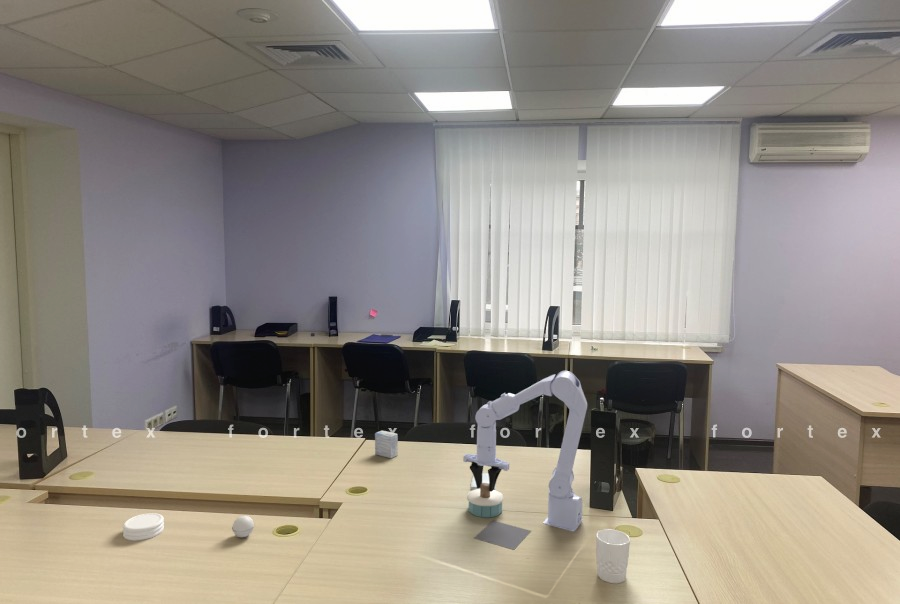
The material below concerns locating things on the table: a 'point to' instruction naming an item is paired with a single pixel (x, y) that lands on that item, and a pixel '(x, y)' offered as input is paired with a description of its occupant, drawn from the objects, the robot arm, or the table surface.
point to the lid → (484, 496)
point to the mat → (502, 535)
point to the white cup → (612, 555)
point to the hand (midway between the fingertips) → (485, 488)
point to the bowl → (485, 510)
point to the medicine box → (386, 444)
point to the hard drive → (484, 480)
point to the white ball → (243, 526)
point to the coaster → (143, 526)
